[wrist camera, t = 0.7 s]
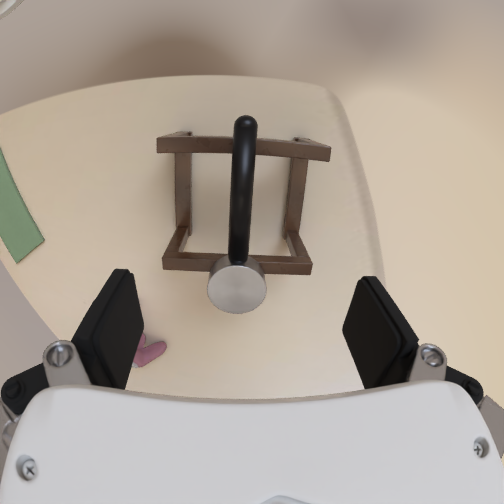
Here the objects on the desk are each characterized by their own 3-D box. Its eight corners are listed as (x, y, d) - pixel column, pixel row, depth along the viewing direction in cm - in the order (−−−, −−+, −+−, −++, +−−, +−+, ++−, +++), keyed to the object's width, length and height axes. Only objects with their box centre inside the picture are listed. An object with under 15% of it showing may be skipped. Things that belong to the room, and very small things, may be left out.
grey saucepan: (212, 114, 17) (209, 113, 16) (280, 118, 18) (284, 118, 16) (209, 298, 25) (207, 312, 23) (262, 300, 25) (263, 314, 23)
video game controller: (120, 294, 36) (88, 326, 30) (139, 297, 34) (105, 332, 28) (151, 341, 40) (126, 372, 35) (171, 347, 38) (145, 381, 33)
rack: (177, 131, 25) (153, 137, 18) (309, 138, 26) (334, 147, 19) (178, 232, 30) (160, 269, 23) (296, 237, 31) (312, 275, 24)
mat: (-24, 179, 24) (-26, 180, 23) (-1, 146, 22) (-3, 146, 22) (18, 262, 31) (16, 263, 30) (44, 239, 29) (42, 241, 29)
